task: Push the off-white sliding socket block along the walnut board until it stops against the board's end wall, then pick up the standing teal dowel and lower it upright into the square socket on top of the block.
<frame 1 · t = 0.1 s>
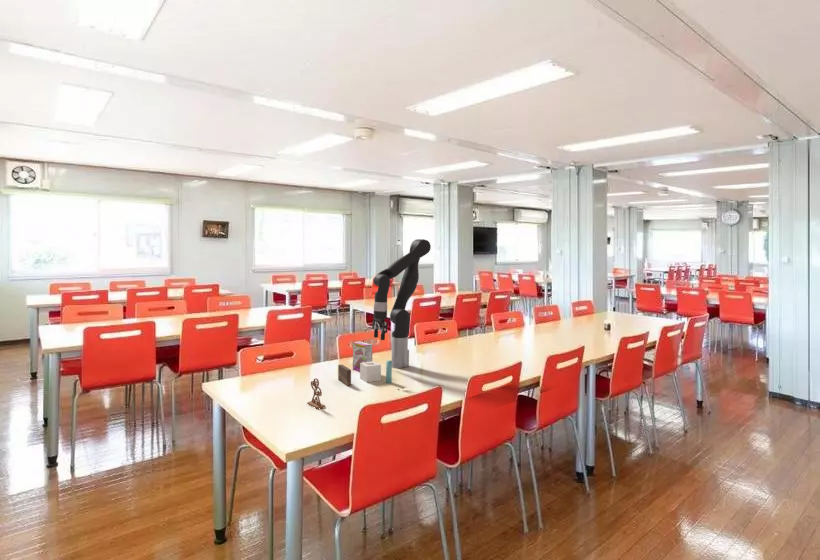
hand: (379, 338, 265), 17 cm above the table, tool pointing down, fingers open, 8 cm apart
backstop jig: (366, 382, 240), on the table
brown carved figurine: (316, 406, 204), on the table
candy bar box: (362, 373, 258), on the table
teal dowel: (388, 384, 237), on the table
socket block: (370, 371, 241), point 5 cm above the table, slide at 0.0 cm
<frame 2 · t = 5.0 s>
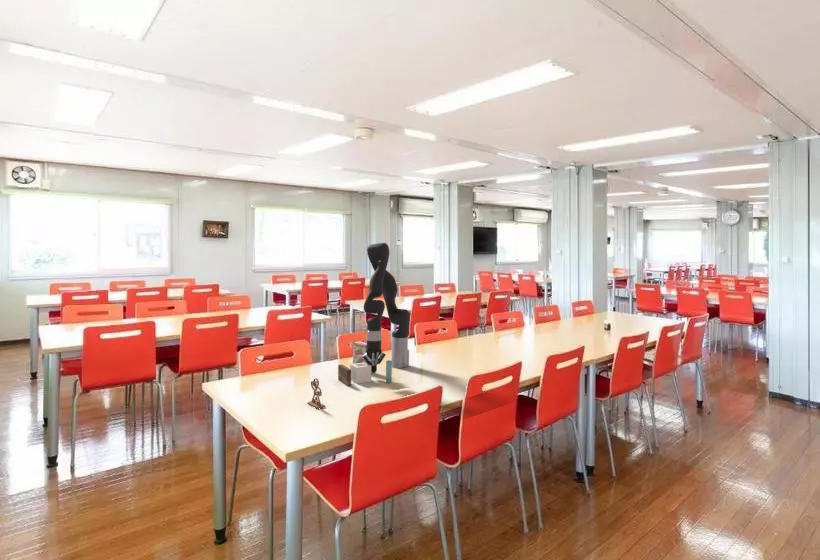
hand: (373, 372, 242), 5 cm above the table, tool pointing down, fingers closed
socket block: (360, 372, 238), point 5 cm above the table, slide at 5.4 cm, touching hand
everything else where it was.
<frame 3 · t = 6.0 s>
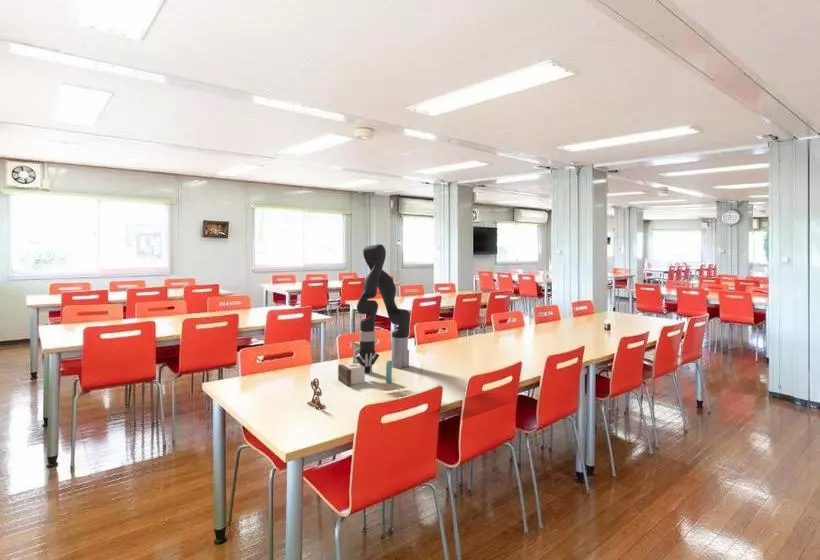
hand: (367, 373, 240), 5 cm above the table, tool pointing down, fingers closed
socket block: (353, 373, 237), point 5 cm above the table, slide at 9.0 cm, touching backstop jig, hand
everything else where it was.
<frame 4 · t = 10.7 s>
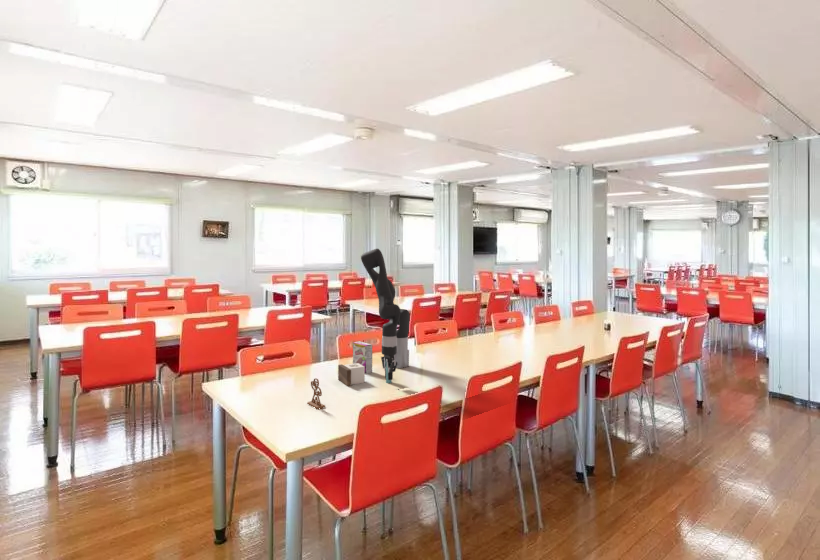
hand: (388, 378, 236), 3 cm above the table, tool pointing down, fingers closed on teal dowel, 2 cm apart
teal dowel: (388, 384, 237), on the table, touching gripper
socket block: (353, 373, 237), point 5 cm above the table, slide at 9.0 cm, touching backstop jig
everything else where it was.
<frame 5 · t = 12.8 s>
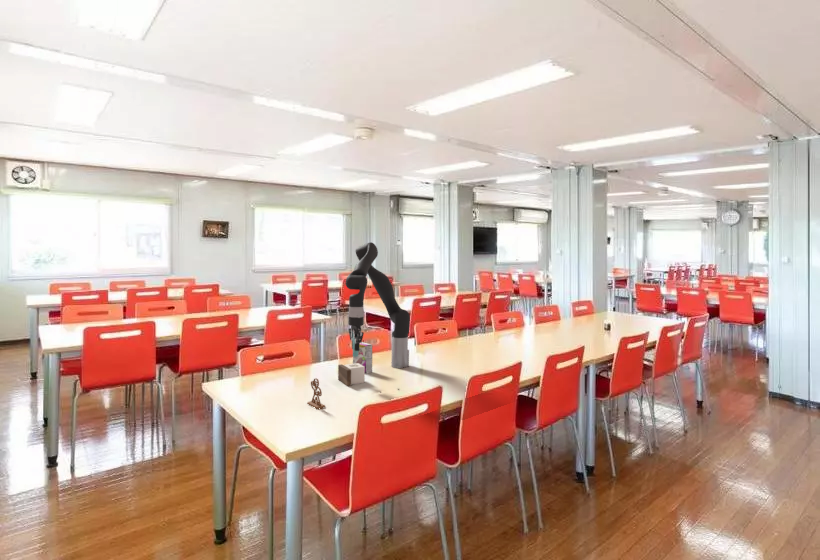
hand: (355, 349, 235), 17 cm above the table, tool pointing down, fingers closed on teal dowel, 2 cm apart
teal dowel: (355, 356, 236), point 14 cm above the table, touching gripper
everything else where it was.
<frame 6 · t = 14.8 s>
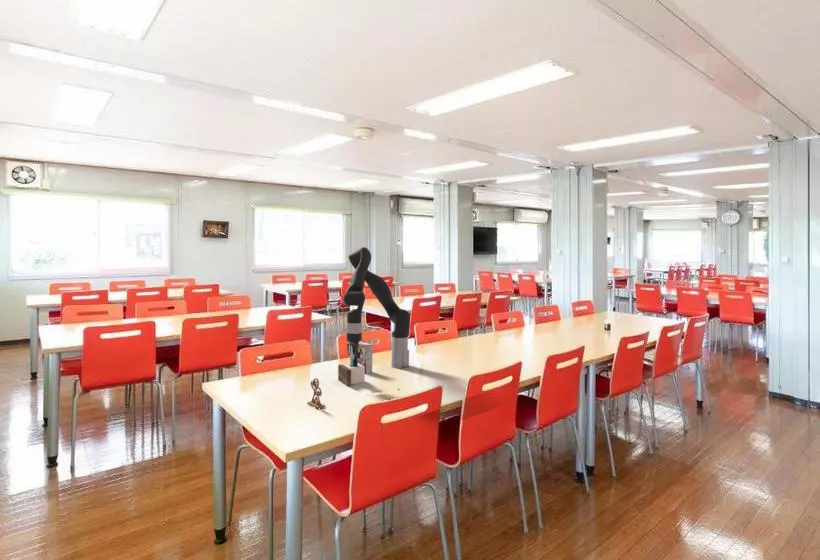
hand: (353, 365, 236), 9 cm above the table, tool pointing down, fingers closed on teal dowel, 2 cm apart
teal dowel: (353, 371, 237), point 6 cm above the table, touching gripper
socket block: (353, 373, 237), point 5 cm above the table, slide at 9.0 cm, touching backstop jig, gripper
everything else where it was.
when the fingers open (9 cm above the table, at t = 15.1 s): teal dowel drops 2 cm, resting on socket block.
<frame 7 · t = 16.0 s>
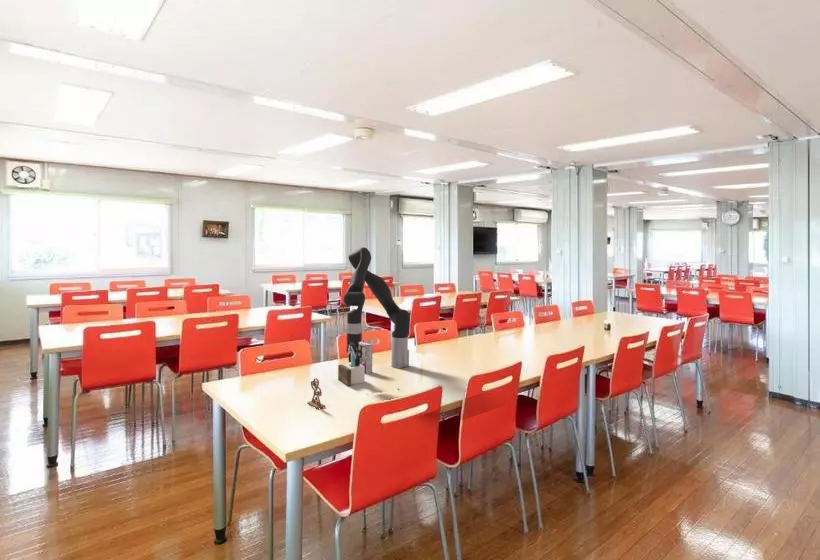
hand: (354, 364, 236), 10 cm above the table, tool pointing down, fingers open, 8 cm apart
teal dowel: (353, 375, 237), point 4 cm above the table, touching socket block
socket block: (353, 373, 237), point 5 cm above the table, slide at 9.0 cm, touching teal dowel
everything else where it was.
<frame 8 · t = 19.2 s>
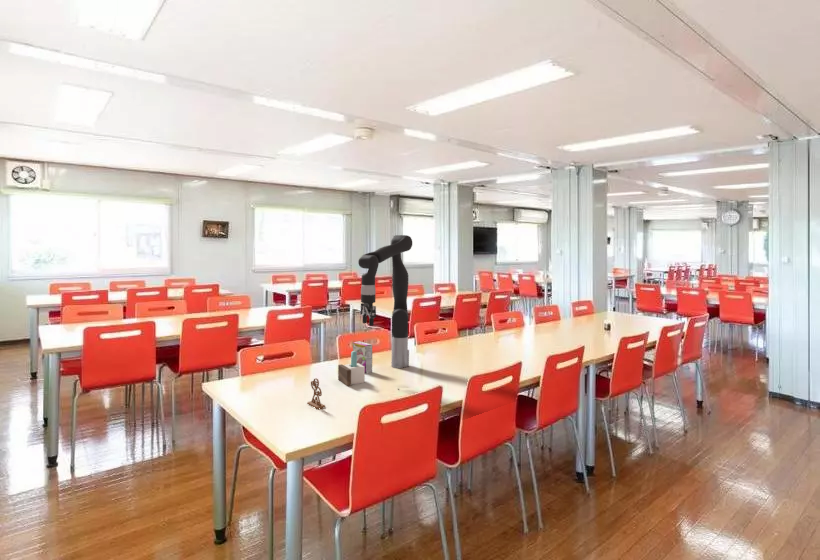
hand: (367, 324, 247), 28 cm above the table, tool pointing down, fingers open, 8 cm apart
nothing on the table moved.
at the end: socket block slide at 9.0 cm; teal dowel 0.1 cm off-centre on the socket block, point 3.0 cm above the socket block's base; teal dowel tilted 1° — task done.
